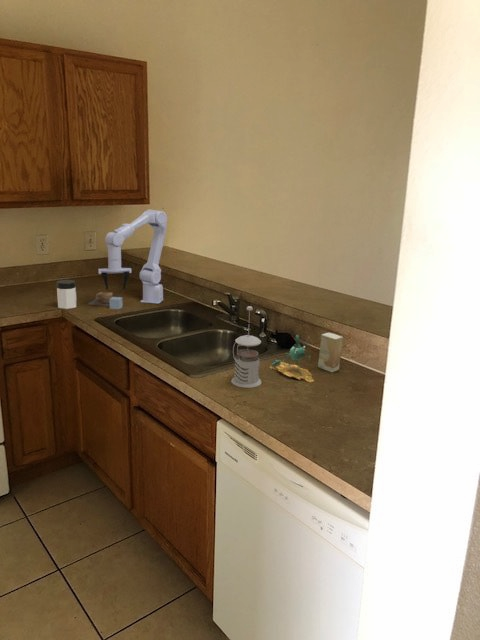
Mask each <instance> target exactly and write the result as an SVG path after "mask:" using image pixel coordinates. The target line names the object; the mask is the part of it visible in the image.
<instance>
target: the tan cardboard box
mask: <svg viewBox="0 0 480 640" xmlns="http://www.w3.org/2000/svg"><path fill="white" fill-rule="evenodd" d="M95 299H96V298H95ZM96 303H103V304H109V303H110V302H109V299H108V300H104V299H96Z"/></svg>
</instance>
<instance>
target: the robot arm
mask: <svg viewBox="0 0 480 640" xmlns="http://www.w3.org/2000/svg"><path fill="white" fill-rule="evenodd" d="M168 220H169V219H168V215H167V214H166V212H165V211H163V210H155V209H151V208H150V209H149V208H148V209H147V210H146V211H143V213H142V214H141V215H140V216H138V217H137V218H136V219H134V220H133V221H132V222H130V223H122V224H121V226H120V227H118V228H117V229H114V231H110V232H108V233H107V234H106V236H105V238H104V242H105V244H106V247H107V261H108V262H107V263H108V265H107V267H106V268H98V270H97V271H98V275H100V276H101V277H102V279H103V282H104V285H105V289H106V290H109V286H108V274H122V288H123V289H124V290H125V289H126V285H127V281H128V280H129V277H130V274H132V268H131V267H122V245H123V244H124V241H125V240H126V239H128V238H130V237H131V236H133V235H134V234H135V230H137V229H139V228H140V227H142V226H144V225H146V224H148V225H149V226H150V227H151V228H152V229H153V231H154V232H153V237H152V240H151V245H150V249H149V254H148V257H147V262H146V263H144V265H143V266H142V269H141V270H140V272H139V279H140V280H141V283H142V299H141V300H140V303H146V304H147V303H148V304H157V305H159V304H160V303H161V302H162V301H164V287H163V284H160V282H161V279H162V274H161V273H162V269H161V267H160V266H159V264H160V261H161V255H162V252H163V247H164V242H165V238H166V234H167V230H168V229H167V228H168V227H167V223H168Z"/></svg>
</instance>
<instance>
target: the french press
mask: <svg viewBox="0 0 480 640" xmlns="http://www.w3.org/2000/svg"><path fill="white" fill-rule="evenodd" d="M253 309H254V308H253V306H250V305H249V306H246V311H248V322H250V321H251V320H250V319H251V318H250V316H251V315H250V314H251V311H253ZM247 331H248V332H247V334H246V335H241V336H239V337H237V338H236V339H235V340H234V341H235V342H234V344H233V347H232V354H233V358H234V376H233V377H232V378H231V381H230V383H231V384H232V385H233V386H236V387H239V388H247V389H248V388H250V389H251V388H257V387H259V386H260V385H261V384H262V380H261V379H260V378H259V377H260V376H259V375H260V374H259V373H260V362H261V361H260V360H261V359H260V356H259V355H260V353H259V351H257V350H254V349H249V347H256V346H259V345H260V344H261V343H262V341H261V339H260V338H259V337H257V336H254V335H250V325H248V330H247ZM236 344H237V346H236V347H237V348H236V355H235V353H234V350H235V345H236ZM241 346H244V347H247V348H245V349H239V347H241Z"/></svg>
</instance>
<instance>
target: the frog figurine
mask: <svg viewBox="0 0 480 640" xmlns="http://www.w3.org/2000/svg"><path fill="white" fill-rule="evenodd" d="M306 347H307V345H306V343H303V344H302V346H301V344H300V338H299V335H298V334H296V335H295V344H293V346H292V347H290V350H289V353H286V352H285V353H284V355H283V359H281V358H279V357H277V359H276V358H275V360H274V361H273V362H272V363H271V365H270V366H269V368H270V369H271V370H275V371H278V372H280V373H281V374H282V375H284V376H287V377H290V378H294V379H298V380H303V381H306V382H308V383H312V382H315V380H314V378H313V374H312V373H311V372H310V371H309V369H306V368H303V367H301V366H300V363H299V362H298V361H300V360H302V359H303V357H305V358H306V359H308V361H310V360H311V355H309V354H308V355H307V353H305V350H306ZM285 356H286V357H285ZM289 357H290V358H291V360H290V361H289ZM285 358H286V360H287V363H286V362H285ZM292 361H293V362H295V363H296V364H291V363H292Z"/></svg>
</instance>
